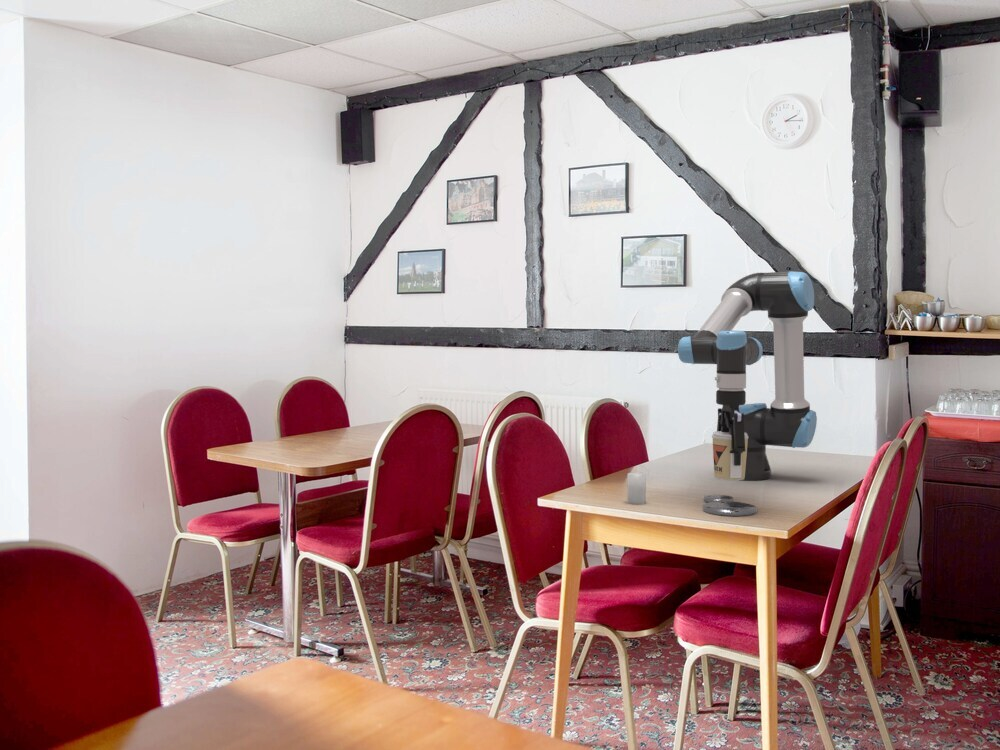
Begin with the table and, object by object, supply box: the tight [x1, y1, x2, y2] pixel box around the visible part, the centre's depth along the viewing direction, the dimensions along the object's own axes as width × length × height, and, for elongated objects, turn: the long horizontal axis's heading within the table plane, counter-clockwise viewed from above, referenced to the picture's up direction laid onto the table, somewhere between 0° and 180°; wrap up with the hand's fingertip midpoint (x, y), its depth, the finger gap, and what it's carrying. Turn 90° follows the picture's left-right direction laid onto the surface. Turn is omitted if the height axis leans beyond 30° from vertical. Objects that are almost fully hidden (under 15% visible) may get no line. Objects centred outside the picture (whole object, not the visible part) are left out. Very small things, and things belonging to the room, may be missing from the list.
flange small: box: [703, 494, 734, 503], centre depth 257 cm, size 8×8×1 cm
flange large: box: [702, 501, 758, 517], centre depth 245 cm, size 14×14×1 cm
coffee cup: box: [711, 430, 748, 482], centre depth 244 cm, size 9×9×12 cm
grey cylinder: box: [627, 471, 647, 505], centre depth 256 cm, size 5×5×8 cm
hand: (729, 474), depth 244 cm, fingers closed on coffee cup, 9 cm apart
